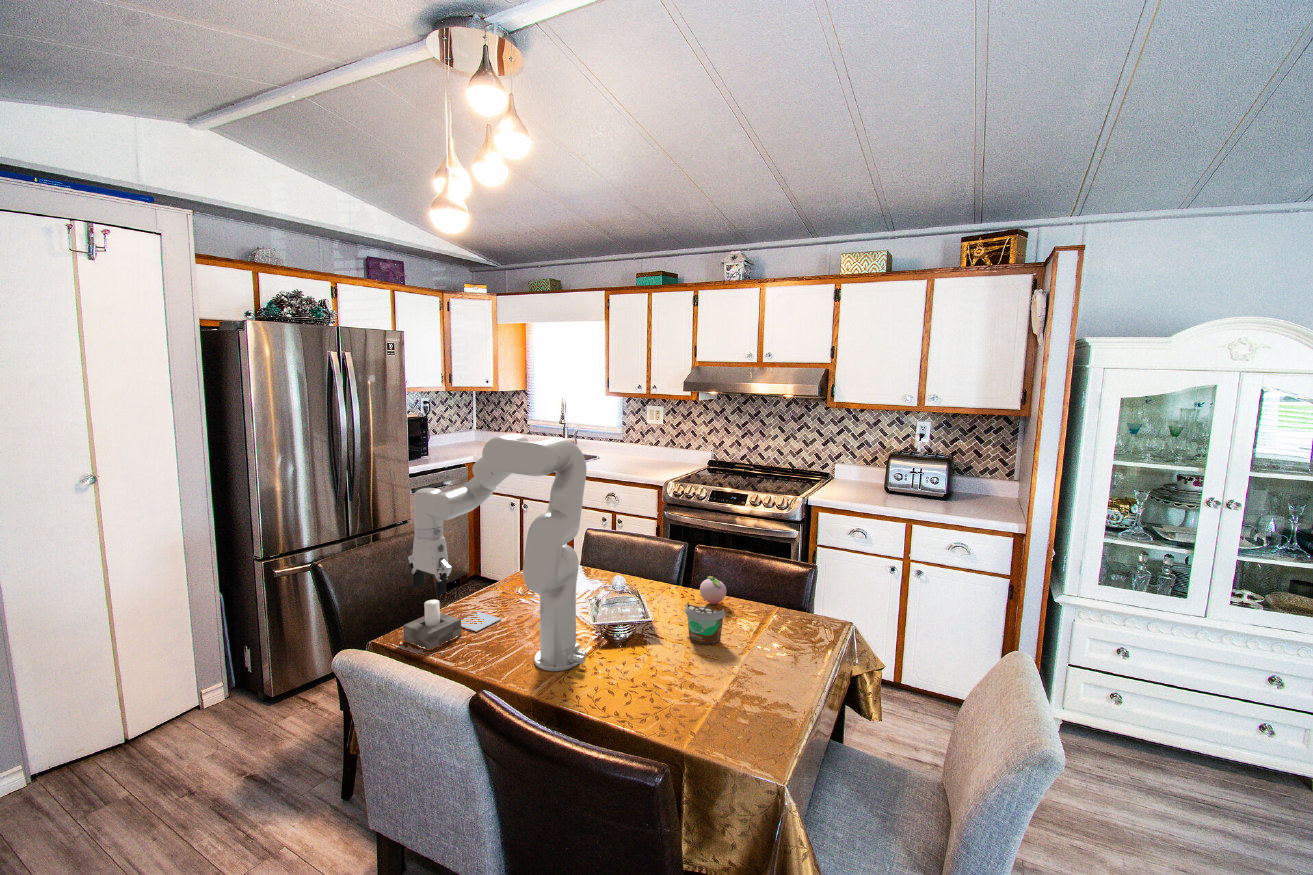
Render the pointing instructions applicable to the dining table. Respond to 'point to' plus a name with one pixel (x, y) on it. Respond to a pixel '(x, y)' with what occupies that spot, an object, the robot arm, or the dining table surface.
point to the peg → (432, 613)
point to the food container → (704, 624)
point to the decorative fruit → (712, 590)
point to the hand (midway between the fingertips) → (429, 589)
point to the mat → (487, 621)
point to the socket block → (432, 631)
